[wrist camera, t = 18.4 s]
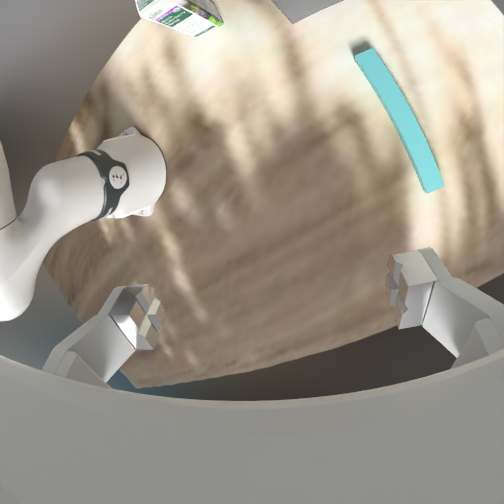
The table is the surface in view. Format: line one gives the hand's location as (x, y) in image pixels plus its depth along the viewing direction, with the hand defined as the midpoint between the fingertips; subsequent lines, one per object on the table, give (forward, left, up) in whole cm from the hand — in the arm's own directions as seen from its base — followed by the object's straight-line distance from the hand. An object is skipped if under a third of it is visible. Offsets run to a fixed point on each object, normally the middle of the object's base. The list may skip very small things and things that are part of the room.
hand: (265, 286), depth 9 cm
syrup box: (-17, +29, -33) cm, 48 cm away
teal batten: (+10, +7, -34) cm, 36 cm away
